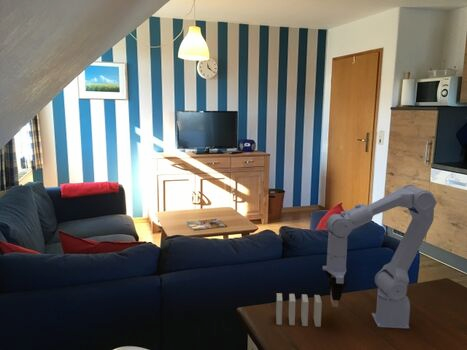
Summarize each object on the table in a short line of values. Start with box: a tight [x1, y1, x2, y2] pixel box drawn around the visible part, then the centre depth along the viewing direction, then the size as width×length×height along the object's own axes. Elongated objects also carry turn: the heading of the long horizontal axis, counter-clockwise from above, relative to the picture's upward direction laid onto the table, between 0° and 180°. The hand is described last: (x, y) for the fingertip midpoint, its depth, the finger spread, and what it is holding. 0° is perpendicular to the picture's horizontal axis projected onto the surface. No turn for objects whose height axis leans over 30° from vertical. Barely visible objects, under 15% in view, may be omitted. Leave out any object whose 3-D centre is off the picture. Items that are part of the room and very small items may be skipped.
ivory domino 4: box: [313, 294, 323, 328], centre depth 126 cm, size 2×5×8 cm, turn 175°
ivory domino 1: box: [275, 292, 283, 326], centre depth 127 cm, size 2×5×8 cm, turn 175°
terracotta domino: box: [329, 275, 339, 308], centre depth 124 cm, size 2×5×8 cm, turn 175°
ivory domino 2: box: [288, 293, 296, 326], centre depth 127 cm, size 2×5×8 cm, turn 175°
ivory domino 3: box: [300, 294, 309, 327], centre depth 126 cm, size 2×5×8 cm, turn 175°
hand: (334, 295), depth 125 cm, fingers closed on terracotta domino, 5 cm apart
